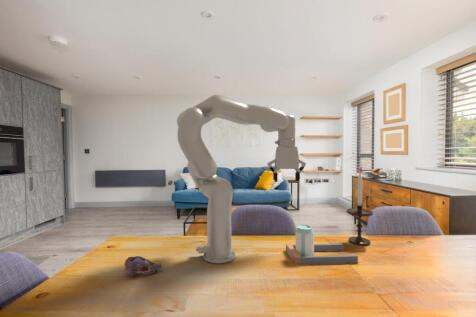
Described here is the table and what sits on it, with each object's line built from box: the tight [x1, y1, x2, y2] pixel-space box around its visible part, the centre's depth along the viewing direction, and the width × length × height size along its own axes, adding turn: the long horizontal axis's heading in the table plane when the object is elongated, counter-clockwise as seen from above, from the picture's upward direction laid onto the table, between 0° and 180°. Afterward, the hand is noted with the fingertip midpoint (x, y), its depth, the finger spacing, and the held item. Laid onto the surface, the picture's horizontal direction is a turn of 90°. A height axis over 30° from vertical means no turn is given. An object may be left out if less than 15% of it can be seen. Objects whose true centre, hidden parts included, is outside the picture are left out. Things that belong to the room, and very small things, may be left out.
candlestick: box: [346, 166, 374, 247], centre depth 114 cm, size 11×11×35 cm
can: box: [295, 224, 315, 256], centre depth 98 cm, size 7×7×12 cm
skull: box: [124, 255, 162, 276], centre depth 86 cm, size 12×8×6 cm, turn 96°
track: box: [285, 242, 359, 266], centre depth 99 cm, size 24×13×3 cm, turn 93°
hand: (286, 181), depth 111 cm, fingers open, 9 cm apart
